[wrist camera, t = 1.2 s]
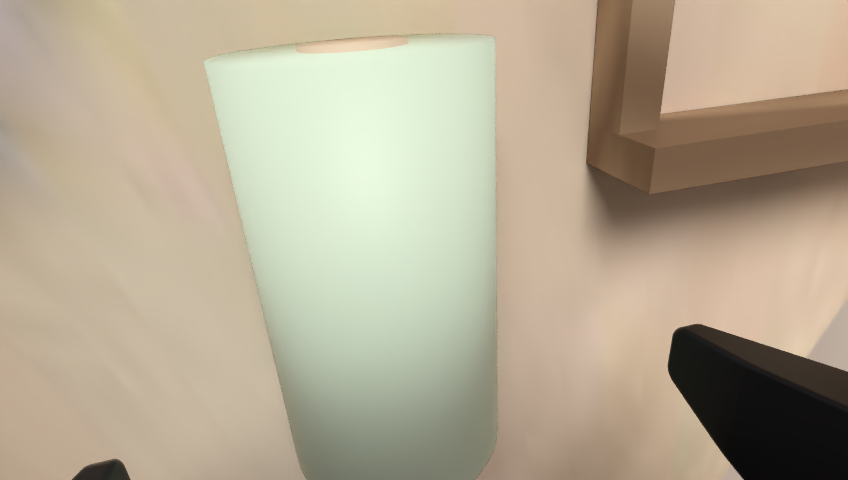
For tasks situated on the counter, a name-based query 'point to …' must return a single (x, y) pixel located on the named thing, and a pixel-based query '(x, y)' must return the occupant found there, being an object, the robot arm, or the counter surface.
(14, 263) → the counter surface
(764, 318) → the counter surface
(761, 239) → the counter surface
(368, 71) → the roll
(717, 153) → the holder
